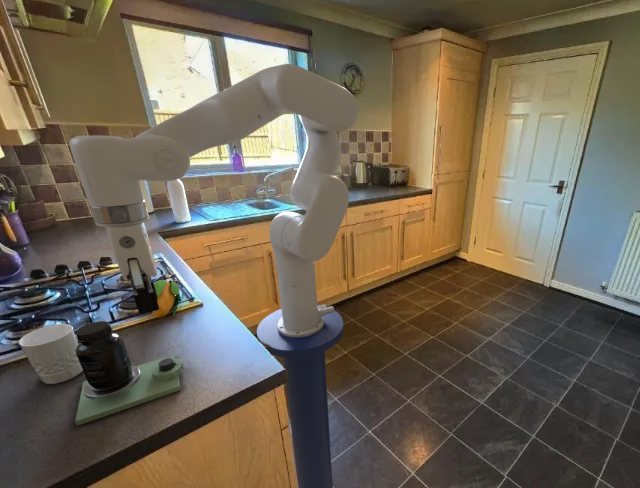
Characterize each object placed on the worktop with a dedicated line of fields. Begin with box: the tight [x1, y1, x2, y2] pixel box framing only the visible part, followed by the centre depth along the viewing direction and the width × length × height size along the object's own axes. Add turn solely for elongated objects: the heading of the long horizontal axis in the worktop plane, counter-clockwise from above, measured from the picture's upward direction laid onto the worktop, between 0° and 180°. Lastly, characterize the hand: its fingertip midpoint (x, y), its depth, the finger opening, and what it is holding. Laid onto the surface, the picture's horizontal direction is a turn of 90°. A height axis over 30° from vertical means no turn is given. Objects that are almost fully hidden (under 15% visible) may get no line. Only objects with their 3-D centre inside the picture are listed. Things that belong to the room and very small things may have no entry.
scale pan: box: [83, 365, 141, 400], centre depth 64 cm, size 9×9×1 cm
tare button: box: [159, 358, 175, 372], centre depth 69 cm, size 3×3×2 cm
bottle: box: [166, 179, 192, 224], centre depth 179 cm, size 8×8×30 cm
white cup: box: [18, 323, 83, 385], centre depth 68 cm, size 8×8×10 cm
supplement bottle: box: [75, 320, 133, 391], centre depth 62 cm, size 7×7×12 cm
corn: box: [152, 279, 180, 319], centre depth 94 cm, size 7×8×20 cm
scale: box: [74, 354, 184, 426], centre depth 67 cm, size 17×12×2 cm
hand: (148, 305), depth 63 cm, fingers open, 3 cm apart
